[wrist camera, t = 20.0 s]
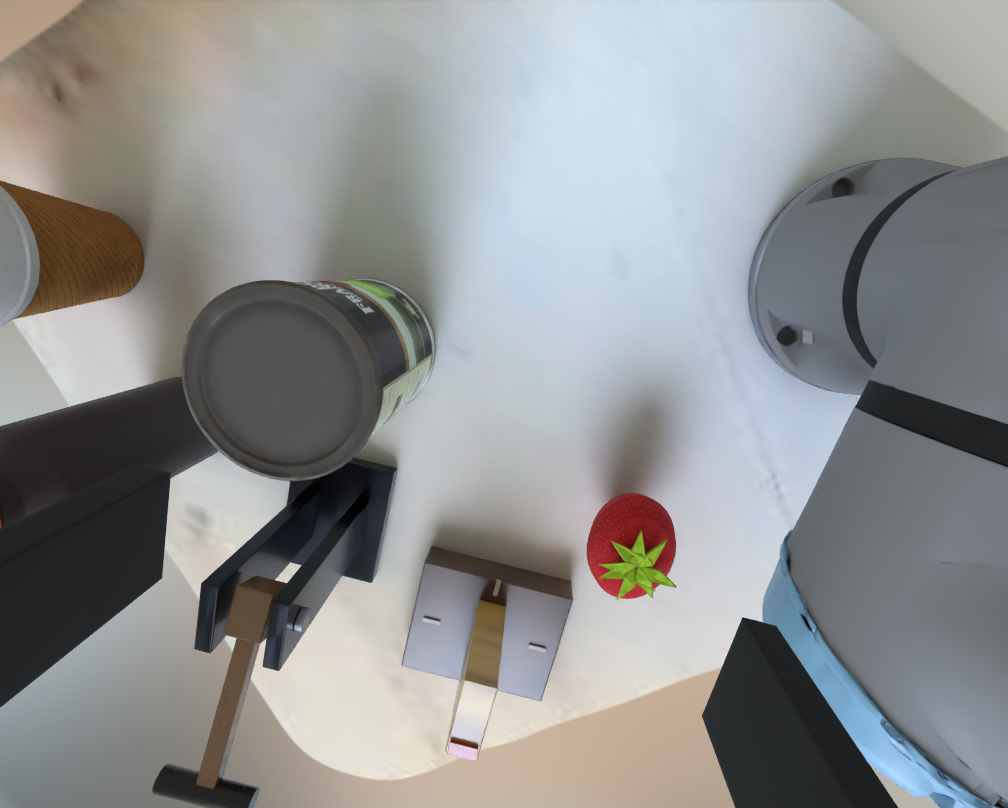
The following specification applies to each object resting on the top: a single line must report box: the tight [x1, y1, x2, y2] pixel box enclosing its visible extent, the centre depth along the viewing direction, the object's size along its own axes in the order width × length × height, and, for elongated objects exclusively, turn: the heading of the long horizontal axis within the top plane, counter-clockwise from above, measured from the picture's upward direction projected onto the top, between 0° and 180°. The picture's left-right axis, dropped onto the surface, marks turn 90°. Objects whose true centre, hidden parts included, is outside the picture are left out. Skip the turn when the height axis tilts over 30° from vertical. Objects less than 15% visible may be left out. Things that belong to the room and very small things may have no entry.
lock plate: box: [402, 547, 573, 701], centre depth 44 cm, size 12×10×3 cm
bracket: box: [194, 458, 397, 671], centre depth 36 cm, size 10×8×15 cm
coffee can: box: [181, 279, 435, 481], centre depth 33 cm, size 10×10×14 cm
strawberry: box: [587, 493, 676, 600], centre depth 37 cm, size 6×8×10 cm
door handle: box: [152, 576, 287, 808], centre depth 31 cm, size 13×6×2 cm, turn 167°
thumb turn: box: [445, 600, 506, 761], centre depth 38 cm, size 6×2×9 cm, turn 166°
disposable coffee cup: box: [0, 181, 144, 327], centre depth 34 cm, size 10×10×12 cm
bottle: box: [0, 377, 219, 528], centre depth 33 cm, size 7×7×20 cm
